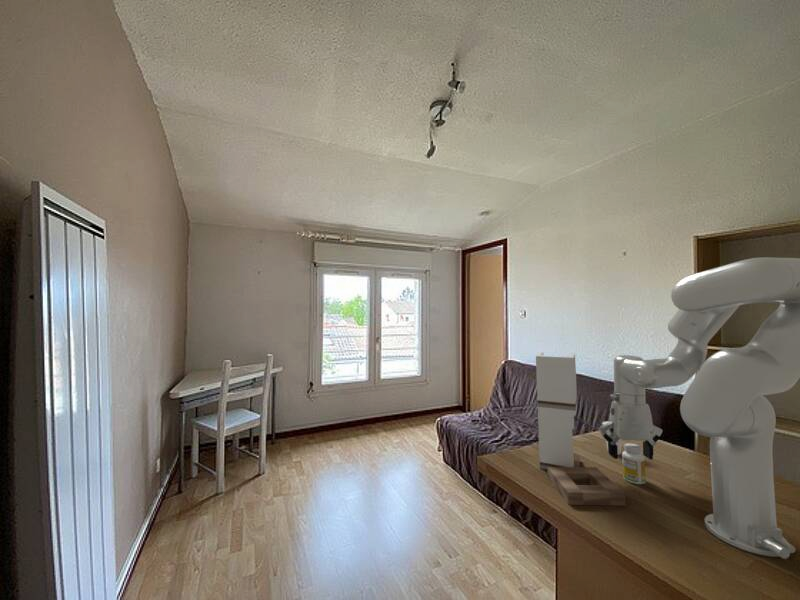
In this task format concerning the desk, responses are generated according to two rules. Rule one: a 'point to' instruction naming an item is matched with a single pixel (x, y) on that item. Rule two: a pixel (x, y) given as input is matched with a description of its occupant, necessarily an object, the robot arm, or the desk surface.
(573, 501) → the socket block
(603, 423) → the smoothie
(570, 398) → the tall seamed white column
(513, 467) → the desk surface
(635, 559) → the desk surface
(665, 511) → the desk surface
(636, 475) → the supplement bottle
